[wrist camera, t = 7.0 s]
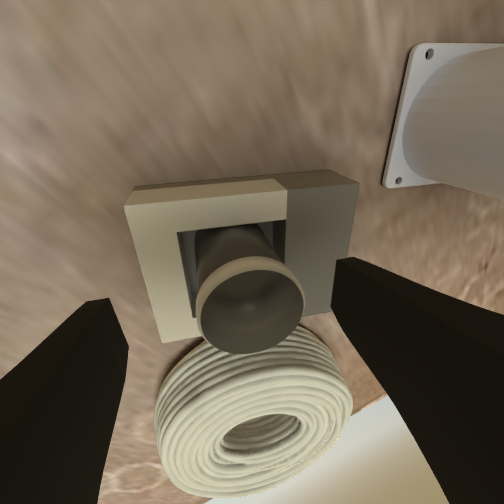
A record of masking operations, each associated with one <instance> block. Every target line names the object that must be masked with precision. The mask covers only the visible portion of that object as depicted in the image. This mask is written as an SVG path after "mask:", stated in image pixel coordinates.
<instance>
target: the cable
mask: <svg viewBox="0 0 504 504" xmlns="http://www.w3.org/2000/svg"><path fill="white" fill-rule="evenodd" d="M352 408H353V398H352V394H351V392H350V390H349V388H348V386H347V384H346V382H345V380H344V379H343V377H342V374H341V372H340V370H339V368H338V366H337V362H336V360H335V358H334V357H333V355H332V353H331V351H330V349H329V348H328V347H327V346H326V345H325V344H323V343H322V342H321V341H320V340H319V339H318V338H317V337H316V336H315V335H314V334H312V333H311V332H310V331H308V330H306V329H304V328H302V327H300V326H298V325H297V327H296V328H295V329H294V331H293V332H292V333H291V334H290V335H289V336H288V337H287V338H286V339H284V340H283V341H282V342H280V343H279V344H277V345H275V346H273V347H271V348H269V349H267V350H264V351H261V352H257V353H252V354H232V353H227V352H224V351H221V350H219V349H217V348H215V347H214V346H212V345H210V344H209V343H208V342H207V341H206V340H205V341H204V342H202V343H201V344H200V345H198V346H197V347H195V348H194V349H193V350H192V351H190V352H189V353H188V354H187V355H186V356H185V357H184V358H183V359H182V360H181V361H180V362H179V363H178V364H177V365H176V366H175V367H174V368H173V369H172V370H171V372H170V373H169V374H168V376H167V377H166V379H165V380H164V382H163V384H162V386H161V388H160V391H159V394H158V397H157V401H156V404H155V410H154V425H155V430H156V433H157V434H156V443H157V449H158V451H159V454H160V458H161V462H162V466H163V468H164V471H165V473H166V474H167V475H168V477H169V479H170V480H171V482H172V483H173V484H174V485H175V486H176V487H177V488H179V489H181V490H182V491H184V492H187V493H189V494H192V495H196V496H202V497H210V498H232V497H241V496H246V495H251V494H255V493H259V492H263V491H265V490H268V489H271V488H273V487H275V486H277V485H280V484H281V483H284V482H286V481H287V480H289V479H291V478H293V477H295V476H296V475H298V474H299V473H301V472H302V471H304V470H305V469H306V468H308V467H309V466H311V465H312V464H314V463H315V462H316V461H317V460H318V459H319V458H321V457H322V456H323V455H324V454H325V453H326V452H327V451H328V450H329V449H330V448H331V447H332V446H333V445H334V444H335V442H336V441H337V440H338V438H339V437H340V435H341V434H342V431H343V430H344V428H345V426H346V424H347V422H348V420H349V418H350V416H351V413H352Z"/></svg>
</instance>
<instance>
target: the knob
mask: <svg viewBox="0 0 504 504" xmlns="http://www.w3.org/2000/svg"><path fill="white" fill-rule="evenodd" d="M194 249H195V261H196V273H197V285H198V295H197V299H196V318H197V326H198V329H199V332H200V333H201V335H202V337H203V338H204V339H205V340H206V341H207V342H208V343H209V344H210V345H212V346H214V347H215V348H217V349H219V350H221V351H224V352H227V353H232V354H252V353H257V352H261V351H264V350H267V349H269V348H271V347H273V346H275V345H277V344H279V343H280V342H282V341H283V340H284V339H286V338H287V337H288V336H289V335H290V334H291V333H292V332H293V331H294V329H295V328H296V327H297V325H298V323H299V322H300V320H301V317H302V315H303V312H304V308H305V295H304V291H303V289H302V286H301V285H300V283H299V282H298V280H297V279H296V277H295V276H294V274H293V273H292V271H291V270H290V269H289V268H288V267H287V266H286V265H284V264H283V263H282V261H281V260H280V258H279V257H278V255H277V254H276V252H275V250H274V249H273V247H272V246H271V244H270V243H269V241H268V239H267V238H266V236H265V235H264V233H263V232H262V230H261V228H260V227H259V225H258V224H257V223H250V224H242V225H233V226H225V227H216V228H208V229H199V230H197V232H196V234H195V238H194Z"/></svg>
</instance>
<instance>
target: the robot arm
mask: <svg viewBox="0 0 504 504" xmlns="http://www.w3.org/2000/svg"><path fill="white" fill-rule="evenodd" d="M427 51H428V57H427V59H426V58H425V54H426V52H427ZM397 178H398V180H397V182H396V183H395V181H396V179H397ZM438 183H444V184H447V185H451V186H454V187H458V188H461V189H464V190H468V191H471V192H474V193H478V194H481V195H485V196H488V197H491V198H495V199H498V200H501V201H504V44H489V43H422V44H418V45H416V46H414V47H413V49H412V50H411V52H410V55H409V59H408V64H407V69H406V73H405V78H404V83H403V87H402V92H401V97H400V101H399V106H398V111H397V115H396V120H395V125H394V129H393V134H392V139H391V144H390V148H389V153H388V158H387V162H386V167H385V172H384V176H383V182H382V184H383V186H384V187H386V188H399V187H409V186H419V185H429V184H438ZM330 307H331V309H332V311H333V313H334V315H335V317H336V319H337V321H338V322H339V324H340V326H341V328H342V330H343V332H344V333H345V335H346V336H347V337H348V339H349V340H350V342H351V343H352V345H353V346H354V348H355V349H356V350H357V352H358V353H359V355H360V356H361V357H362V359H363V360H364V362H365V363H366V364H367V366H368V367H369V369H370V370H371V371H372V373H373V374H374V376H375V377H376V379H377V380H378V381H379V383H380V384H381V386H382V387H383V388H384V390H385V391H386V393H387V394H388V396H389V397H390V399H391V400H392V402H393V403H394V405H395V406H396V408H397V410H398V411H399V413H400V415H401V417H402V418H403V420H404V422H405V423H406V425H407V427H408V429H409V430H410V432H411V434H412V435H413V437H414V439H415V441H416V442H417V444H418V446H419V448H420V450H421V451H422V453H423V455H424V457H425V459H426V460H427V462H428V464H429V466H430V468H431V469H432V471H433V473H434V475H435V477H436V479H437V480H438V482H439V484H440V486H441V488H442V490H443V492H444V494H445V496H446V498H447V500H448V502H449V504H504V315H502V314H499V313H496V312H493V311H490V310H487V309H484V308H481V307H478V306H475V305H472V304H469V303H467V302H464V301H461V300H459V299H456V298H453V297H451V296H448V295H446V294H443V293H440V292H438V291H435V290H433V289H430V288H428V287H425V286H423V285H421V284H418V283H416V282H413V281H411V280H409V279H406V278H404V277H402V276H399V275H397V274H395V273H392V272H390V271H388V270H385V269H383V268H381V267H378V266H376V265H373V264H371V263H369V262H366V261H363V260H361V259H358V258H355V257H349V258H343V259H337V260H336V267H335V274H334V282H333V290H332V297H331V305H330ZM128 349H129V346H128V343H127V341H126V339H125V336H124V334H123V331H122V329H121V326H120V324H119V321H118V319H117V316H116V314H115V311H114V309H113V306H112V304H111V301H110V299H109V298H105V299H99V300H93V301H87V302H85V303H84V304H83V305H82V306H81V307H79V308H78V309H77V310H76V311H75V312H74V313H73V314H72V315H71V316H69V317H68V318H67V319H66V320H65V321H64V322H63V323H62V324H61V325H60V326H59V327H58V328H57V329H56V330H55V331H53V332H52V333H51V334H50V335H49V336H48V337H47V338H46V339H45V340H44V341H43V342H42V343H41V344H39V345H38V346H37V347H36V348H35V349H34V350H33V351H32V352H31V353H30V354H29V355H28V356H26V357H25V358H24V359H23V360H22V361H21V362H20V363H19V364H18V365H17V366H15V367H14V368H13V369H12V370H11V371H10V372H9V373H7V374H6V375H5V376H4V377H3V378H2V379H0V504H97V502H98V496H99V490H100V485H101V480H102V475H103V470H104V466H105V462H106V458H107V453H108V449H109V445H110V441H111V437H112V433H113V429H114V425H115V421H116V417H117V412H118V408H119V404H120V400H121V396H122V391H123V387H124V383H125V377H126V369H127V360H128Z"/></svg>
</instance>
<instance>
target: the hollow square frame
mask: <svg viewBox="0 0 504 504" xmlns="http://www.w3.org/2000/svg"><path fill="white" fill-rule="evenodd" d="M359 184H360V183H358V182H356V181H354V180H351V179H349V178H347V177H345V176H342V175H340V174H338V173H335V172H333V171H331V170H320V171H308V172H297V173H285V174H273V175H261V176H250V177H238V178H226V179H214V180H202V181H191V182H179V183H167V184H155V185H143V186H135V188H134V189H133V191H132V193H131V194H130V196H129V198H128V199H127V201H126V202H125V204H124V206H123V207H124V210H125V214H126V217H127V221H128V224H129V228H130V231H131V235H132V238H133V242H134V245H135V249H136V253H137V256H138V260H139V263H140V267H141V270H142V274H143V277H144V281H145V284H146V288H147V291H148V295H149V298H150V302H151V305H152V309H153V313H154V316H155V320H156V323H157V327H158V330H159V334H160V337H161V341H162V343H167V342H173V341H178V340H183V339H188V338H194V337H199V336H202V335H201V333H200V332H199V329H198V326H197V318H196V299H197V295H198V285H197V273H196V261H195V249H194V238H195V234H196V232H197V230H199V229H208V228H216V227H225V226H233V225H242V224H250V223H257V224H258V225H259V227H260V228H261V230H262V232H263V233H264V235H265V236H266V238H267V239H268V241H269V243H270V244H271V246H272V247H273V249H274V250H275V252H276V254H277V255H278V257H279V258H280V260H281V261H282V263H283V264H284V265H286V266H287V267H288V268H289V269H290V270H291V271H292V273H293V274H294V276H295V277H296V279H297V280H298V282H299V283H300V285H301V286H302V289H303V291H304V295H305V308H304V312H303V315H302V317H305V316H310V315H315V314H321V313H326V312H331V311H332V309H331V307H330V305H331V297H332V290H333V282H334V274H335V267H336V260H337V259H343V258H347V254H348V248H349V242H350V237H351V231H352V225H353V219H354V213H355V207H356V201H357V196H358V190H359Z"/></svg>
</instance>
